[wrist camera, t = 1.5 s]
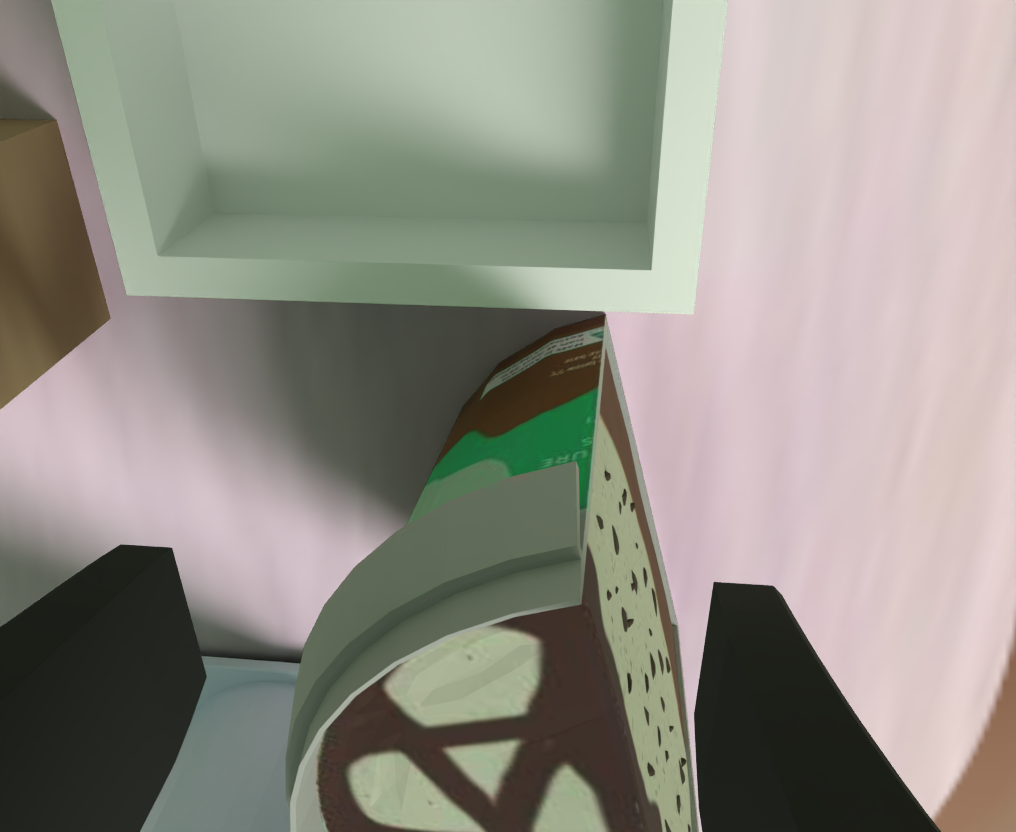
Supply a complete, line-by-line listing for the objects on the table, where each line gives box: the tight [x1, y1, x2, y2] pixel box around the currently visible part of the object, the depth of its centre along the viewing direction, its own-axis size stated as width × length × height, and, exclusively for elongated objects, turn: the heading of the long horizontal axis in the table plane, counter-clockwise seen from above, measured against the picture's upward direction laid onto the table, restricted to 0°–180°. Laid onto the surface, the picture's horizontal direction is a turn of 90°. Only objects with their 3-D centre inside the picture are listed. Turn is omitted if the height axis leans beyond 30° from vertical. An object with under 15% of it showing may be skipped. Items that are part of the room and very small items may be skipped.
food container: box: [285, 314, 699, 832], centre depth 17 cm, size 12×6×10 cm, turn 15°
